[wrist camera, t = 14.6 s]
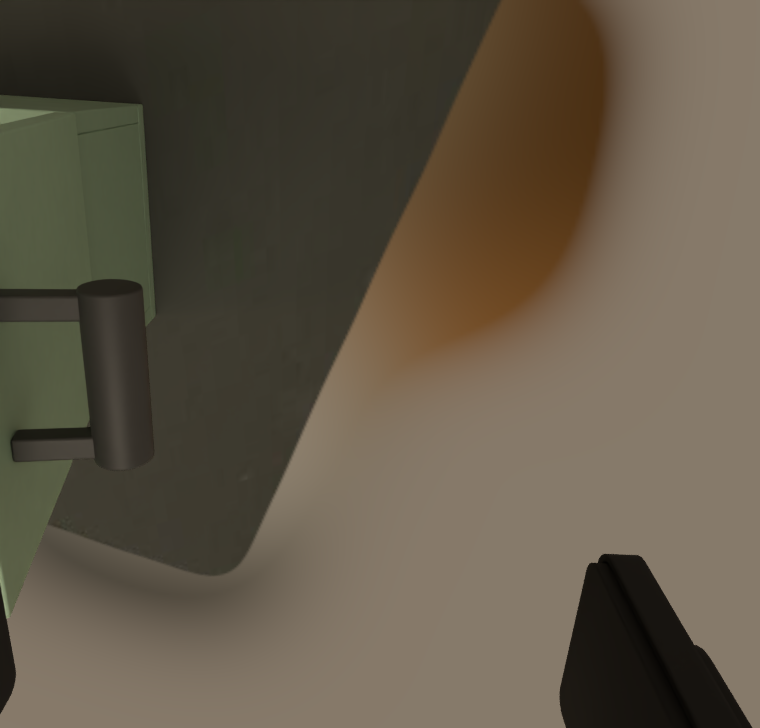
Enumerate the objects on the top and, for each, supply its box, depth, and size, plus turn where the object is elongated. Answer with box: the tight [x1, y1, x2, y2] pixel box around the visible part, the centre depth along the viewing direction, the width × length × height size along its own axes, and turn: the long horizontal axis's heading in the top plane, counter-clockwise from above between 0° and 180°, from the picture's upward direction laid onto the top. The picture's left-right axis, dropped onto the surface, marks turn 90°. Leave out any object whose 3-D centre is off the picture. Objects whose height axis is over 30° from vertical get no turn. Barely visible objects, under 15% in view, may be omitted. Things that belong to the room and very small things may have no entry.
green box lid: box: [0, 112, 154, 618], centre depth 23 cm, size 15×12×4 cm
